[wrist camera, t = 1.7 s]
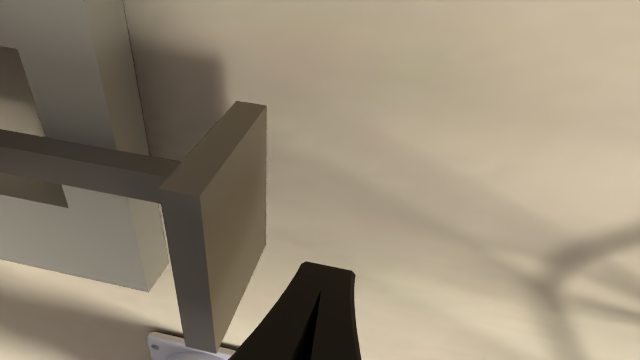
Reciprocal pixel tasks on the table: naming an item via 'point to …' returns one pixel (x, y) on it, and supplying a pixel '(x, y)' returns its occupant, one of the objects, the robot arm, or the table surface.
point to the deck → (84, 128)
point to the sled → (179, 206)
